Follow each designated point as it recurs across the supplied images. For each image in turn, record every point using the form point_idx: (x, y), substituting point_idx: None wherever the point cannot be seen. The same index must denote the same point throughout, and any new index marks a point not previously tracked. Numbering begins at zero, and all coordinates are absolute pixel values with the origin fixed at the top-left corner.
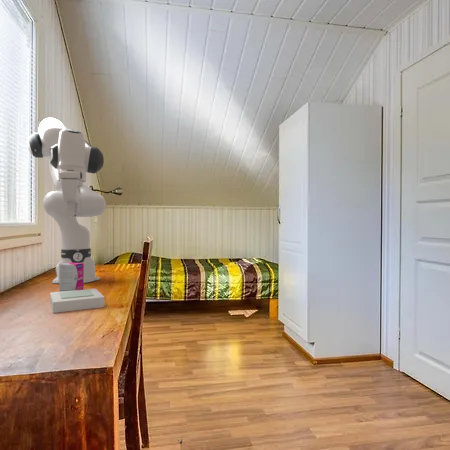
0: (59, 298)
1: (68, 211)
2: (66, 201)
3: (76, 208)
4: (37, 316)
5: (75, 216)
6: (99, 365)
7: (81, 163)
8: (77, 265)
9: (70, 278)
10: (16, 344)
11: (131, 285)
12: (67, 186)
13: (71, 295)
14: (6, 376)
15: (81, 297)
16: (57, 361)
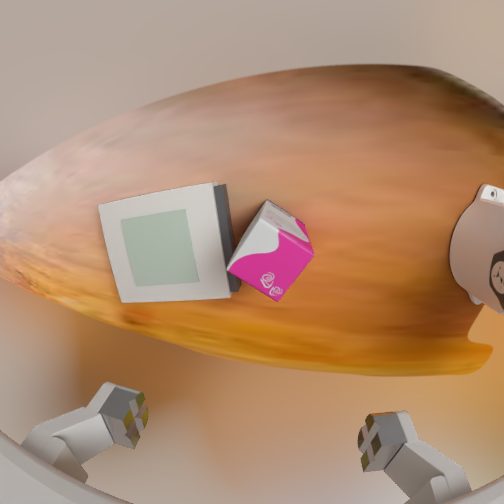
0: (128, 214)
1: (92, 403)
2: (13, 442)
3: (406, 489)
4: (95, 178)
5: (360, 432)
6: None
7: None
8: (242, 279)
9: (239, 243)
10: (10, 186)
11: (355, 370)
12: None
13: (141, 239)
14: None
15: (126, 260)
16: None
